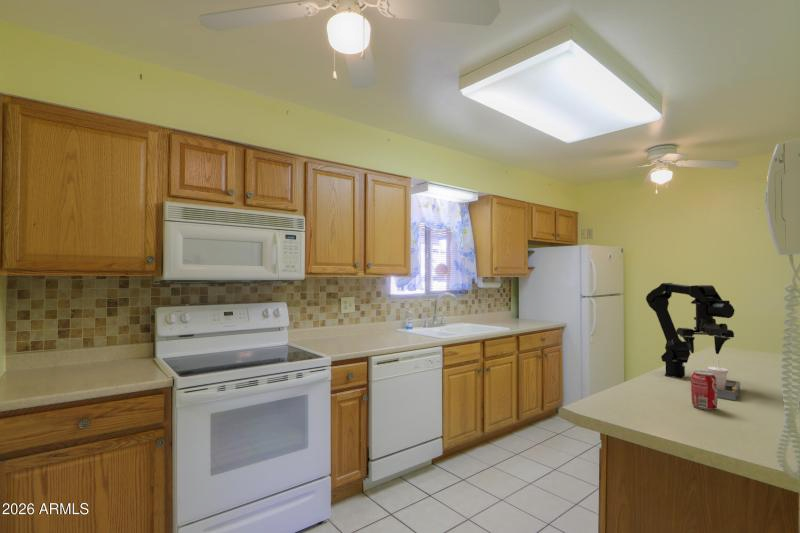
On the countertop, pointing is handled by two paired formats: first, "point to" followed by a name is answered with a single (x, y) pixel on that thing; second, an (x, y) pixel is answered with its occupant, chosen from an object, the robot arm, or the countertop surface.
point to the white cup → (719, 375)
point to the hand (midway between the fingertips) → (704, 353)
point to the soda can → (704, 390)
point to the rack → (729, 390)
